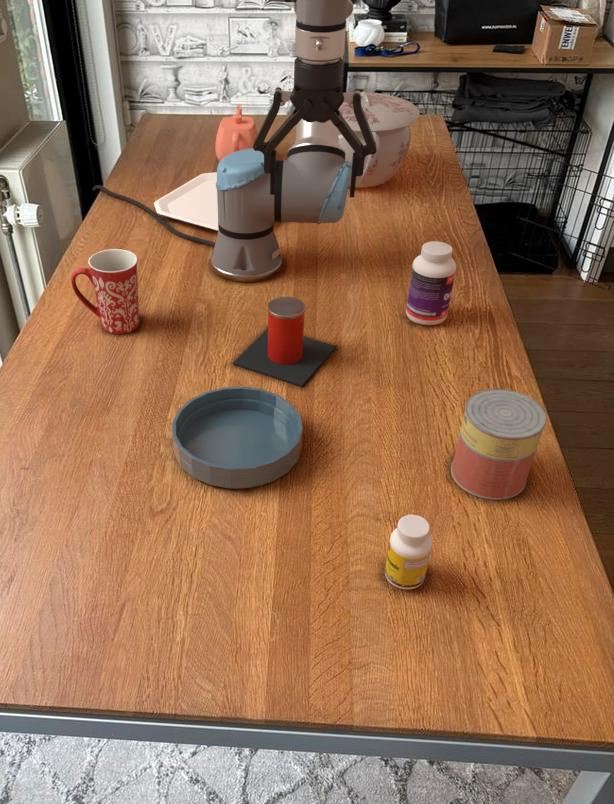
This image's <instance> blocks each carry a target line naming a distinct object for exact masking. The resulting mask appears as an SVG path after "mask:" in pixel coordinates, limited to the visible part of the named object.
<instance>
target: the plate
mask: <svg viewBox="0 0 614 804" xmlns="http://www.w3.org/2000/svg"><path fill="white" fill-rule="evenodd" d="M216 182H217V171H215V172H214V171H213V172H205V173H201V174H199V175H197V176H196V177H194V178H192V179H190V180H189V181H187V182H185V183H184V184H182V185H180V186H179V187H177V188H175V189H174V190H172V191H171V192H169V193H167V194H165V195H164V196H162V197H160V198H158V199H157V200H155V201H154V203H153V206H154V209H155V213H156V214H157V215H158V216H159V217H165V218H167V219H170V220H175V221H178V222H181V223H186V224H189V225H193V226H196V227H200V228H202V229H207V230H210V231H214V232H217V233H218V201H217V188H216Z"/></svg>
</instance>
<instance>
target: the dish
mask: <svg viewBox="0 0 614 804" xmlns="http://www.w3.org/2000/svg"><path fill="white" fill-rule="evenodd" d="M171 434H172V435H171V436H172V437H171V438H172V447H173V456H174V457H175V459H176V461H177V463H178V465H179V466H180V468H181V469H183V471H185V472H186V473H187V474H188V475H190V476H191V477H192V478H193V479H195V480H197V481H200V482H202V483H205V484H207V485H210V486H213V487H218V488H223V489H230V490H231V489H232V490H233V489H234V490H241V489H242V490H243V489H250V488H256V487H261V486H264V485H266V484H270V483H272V482H275V481H276V480H278V479H279V478H281V477H283V476H284V475H287V473H289V472H290V471H291V469H292V468H293V467H294V466H295V465H296V464H297V463H298V461H299V459H300V455H301V452H302V450H303V449H302V448H303V437H304V435H303V434H304V427H303V421H302V417H301V414H300V413H299V412H298V411H297V409H296V408H295V406H294V405H293V404H292V403H291V402H289V401H288V400H287V399H285V398H283V397H282V396H280V395H279V394H277V393H274V392H271V391H268V390H265V389H263V388H257V387H249V386H243V385H242V386H226V387H219V388H215V389H212V390H207V391H205V392H203V393H200V394H197V395H196V396H194V397H192V398H190V399H189V400H187V401H186V402H185V403H184V404H183V405H182V406H181V407H180V408H179V409H178V410H177V412H176V414H175V415H174V417H173V420H172V422H171Z"/></svg>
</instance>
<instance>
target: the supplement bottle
mask: <svg viewBox="0 0 614 804" xmlns="http://www.w3.org/2000/svg"><path fill="white" fill-rule="evenodd" d="M430 526H431V525H430V523H429V522H428V520H427V519H426V518H424V517H423V516H420V515H417V514H406V515H404V516H402V517H401V518H399V520H398V522H397V527H396V528H395V529H394V530H393V531H392V532H391V534H390V537H389V540H388V541H389V542H388V549H387V554H386V561H385V565H384V566H385V567H384V575H385V578H386V580H387V581H388V583H389V584H391V585H392V586H393V587H394V588H397V589H400V590H413V589H417V588H418V587H420V586H422V584H423V583H424V581H425V579H426V575H427V570H428V566H429V562H430V557H431V553H432V546H433V540H432V537H431V534H430V531H431V530H430V529H431V527H430ZM389 578H390V579H391V580H390V579H389ZM396 583H397V584H396ZM402 585H404V586H402Z"/></svg>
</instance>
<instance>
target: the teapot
mask: <svg viewBox="0 0 614 804" xmlns="http://www.w3.org/2000/svg"><path fill="white" fill-rule="evenodd" d="M242 111H243V108H242V105H240V104H239V105H236V111H235V114H233V115H231V116H224V117H222V119H221V121H220V123H219V125H218V130H217V133H216V138H215V147H214V148H215V149H214V150H215V156H216V158H217V161H218V162H220V161H221V160H222V159H223V158H224V157H226V156H227V155H229V154H231V153H233V152H236V151H240V150H244V149H250V148H253V144H254V140H255V138H256V136H257V134H258V132H259V131H258V130H257V126H256V123H255V120H254V118H253V117H251V116H243V112H242Z"/></svg>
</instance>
